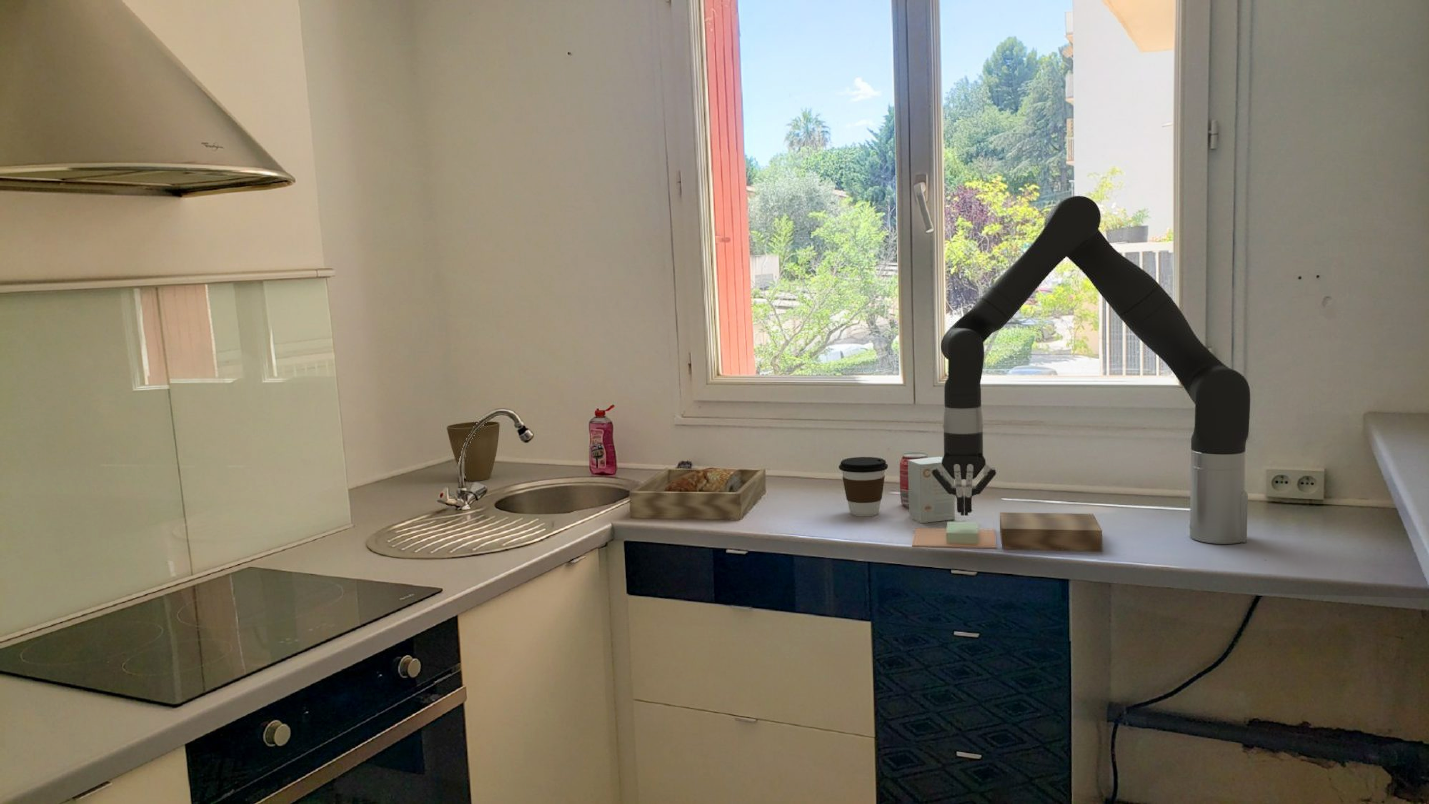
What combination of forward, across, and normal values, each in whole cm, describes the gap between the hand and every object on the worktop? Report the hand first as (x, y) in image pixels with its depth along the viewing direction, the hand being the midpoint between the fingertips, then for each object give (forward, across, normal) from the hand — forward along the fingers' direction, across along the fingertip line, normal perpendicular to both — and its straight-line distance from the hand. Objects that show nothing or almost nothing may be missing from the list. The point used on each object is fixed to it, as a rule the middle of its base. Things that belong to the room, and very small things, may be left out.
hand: (964, 514), depth 194 cm
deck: (+5, -16, 0) cm, 17 cm away
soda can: (+5, +11, -28) cm, 31 cm away
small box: (+5, +7, -16) cm, 19 cm away
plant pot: (+5, +137, -54) cm, 148 cm away
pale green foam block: (+3, 0, 0) cm, 3 cm away
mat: (+5, +2, 0) cm, 5 cm away
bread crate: (+5, +62, -26) cm, 68 cm away
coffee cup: (+5, +22, -20) cm, 31 cm away
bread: (+6, +61, -24) cm, 66 cm away
